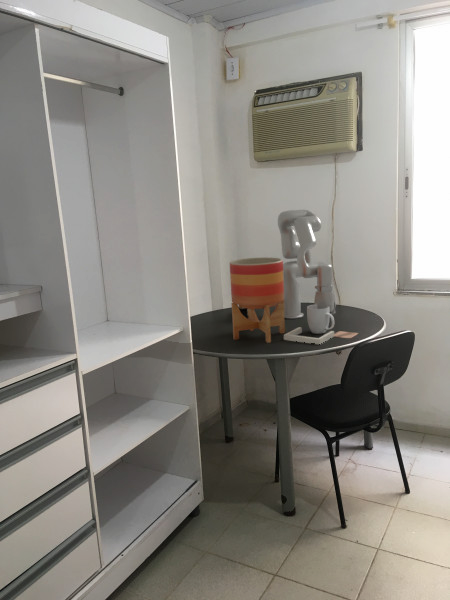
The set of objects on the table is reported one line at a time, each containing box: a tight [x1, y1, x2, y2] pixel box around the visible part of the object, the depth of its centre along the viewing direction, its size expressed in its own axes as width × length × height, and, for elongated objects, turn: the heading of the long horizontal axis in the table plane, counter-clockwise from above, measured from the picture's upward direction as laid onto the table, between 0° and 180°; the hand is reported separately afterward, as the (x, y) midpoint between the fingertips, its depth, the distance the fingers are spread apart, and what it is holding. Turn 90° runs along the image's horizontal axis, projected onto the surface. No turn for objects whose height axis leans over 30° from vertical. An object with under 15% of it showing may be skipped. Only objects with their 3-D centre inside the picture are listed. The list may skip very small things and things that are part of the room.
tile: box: [333, 330, 360, 339], centre depth 240 cm, size 10×10×1 cm
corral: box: [283, 326, 335, 345], centre depth 237 cm, size 19×16×2 cm
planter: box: [229, 256, 286, 344], centre depth 243 cm, size 27×27×38 cm
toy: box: [238, 306, 249, 319], centre depth 293 cm, size 12×7×30 cm
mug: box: [306, 303, 335, 335], centre depth 244 cm, size 15×11×13 cm
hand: (325, 324), depth 252 cm, fingers closed
